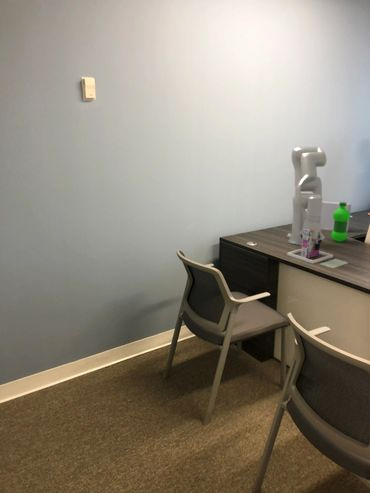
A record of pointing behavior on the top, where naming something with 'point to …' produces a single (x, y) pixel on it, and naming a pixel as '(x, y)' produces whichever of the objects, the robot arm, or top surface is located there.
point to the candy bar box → (308, 245)
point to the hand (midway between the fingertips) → (310, 247)
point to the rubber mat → (334, 263)
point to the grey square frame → (310, 259)
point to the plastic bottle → (340, 223)
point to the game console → (331, 214)
